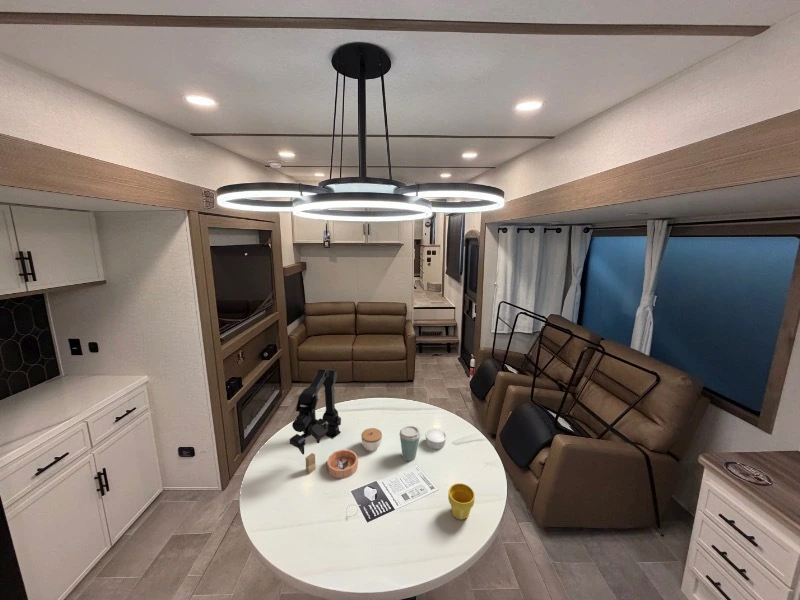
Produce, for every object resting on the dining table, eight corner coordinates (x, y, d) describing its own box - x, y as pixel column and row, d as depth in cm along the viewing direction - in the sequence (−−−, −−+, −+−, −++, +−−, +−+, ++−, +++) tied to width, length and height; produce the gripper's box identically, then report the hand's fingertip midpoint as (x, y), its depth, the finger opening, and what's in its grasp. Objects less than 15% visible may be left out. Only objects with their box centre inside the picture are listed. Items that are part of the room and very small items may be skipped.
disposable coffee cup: (395, 460, 157) (396, 433, 154) (403, 446, 167) (403, 421, 164) (416, 466, 154) (417, 439, 150) (422, 452, 163) (423, 426, 160)
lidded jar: (383, 441, 171) (383, 426, 169) (380, 455, 161) (380, 438, 159) (363, 439, 172) (363, 424, 170) (359, 453, 162) (359, 437, 160)
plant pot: (446, 501, 134) (447, 482, 132) (470, 502, 134) (472, 483, 131) (448, 524, 124) (450, 503, 122) (475, 525, 123) (477, 504, 121)
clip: (337, 466, 152) (337, 460, 151) (341, 462, 154) (341, 456, 154) (343, 469, 150) (343, 463, 149) (348, 465, 152) (348, 460, 152)
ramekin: (447, 451, 164) (447, 442, 163) (425, 450, 165) (426, 441, 163) (444, 437, 175) (445, 429, 174) (424, 436, 175) (424, 428, 174)
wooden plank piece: (306, 472, 148) (305, 457, 147) (312, 467, 152) (312, 452, 150) (309, 474, 147) (308, 459, 146) (315, 469, 151) (314, 454, 149)
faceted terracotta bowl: (321, 470, 150) (321, 462, 149) (341, 453, 162) (341, 446, 161) (344, 482, 143) (343, 475, 142) (363, 464, 154) (363, 456, 153)
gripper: (305, 435, 132) (307, 467, 135) (336, 414, 147) (337, 443, 151) (287, 426, 137) (289, 457, 141) (319, 406, 153) (320, 435, 156)
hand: (310, 448), depth 147 cm, fingers open, 9 cm apart
